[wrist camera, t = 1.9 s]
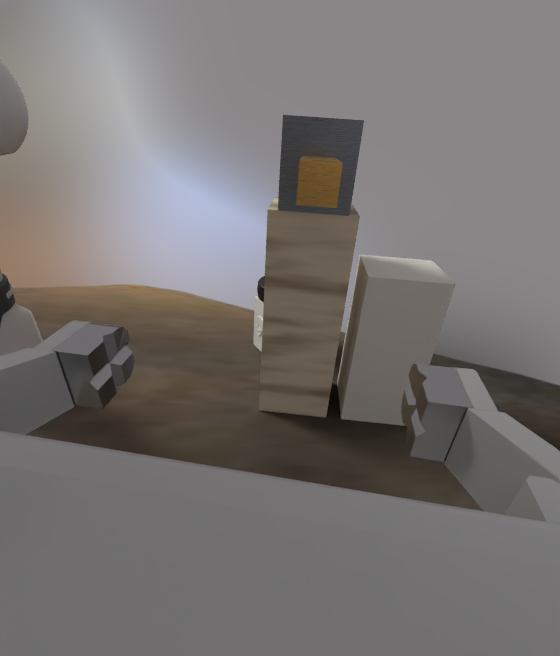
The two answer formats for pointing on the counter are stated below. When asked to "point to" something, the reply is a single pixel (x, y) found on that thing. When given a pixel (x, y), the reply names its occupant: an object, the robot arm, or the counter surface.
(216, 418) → the counter surface
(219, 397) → the counter surface
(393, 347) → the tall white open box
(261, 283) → the jar
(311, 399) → the tall pedestal
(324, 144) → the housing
